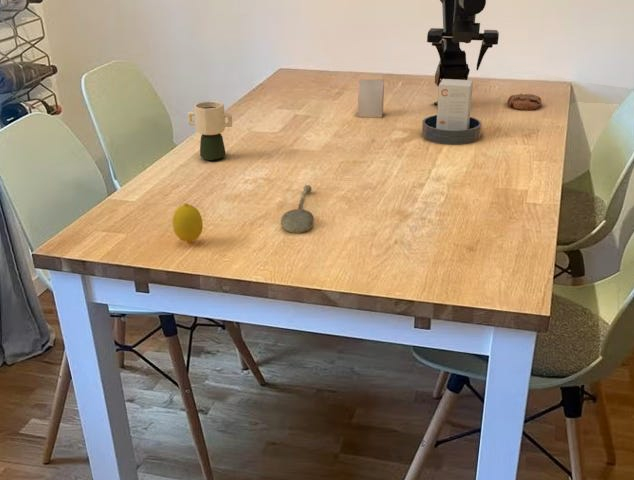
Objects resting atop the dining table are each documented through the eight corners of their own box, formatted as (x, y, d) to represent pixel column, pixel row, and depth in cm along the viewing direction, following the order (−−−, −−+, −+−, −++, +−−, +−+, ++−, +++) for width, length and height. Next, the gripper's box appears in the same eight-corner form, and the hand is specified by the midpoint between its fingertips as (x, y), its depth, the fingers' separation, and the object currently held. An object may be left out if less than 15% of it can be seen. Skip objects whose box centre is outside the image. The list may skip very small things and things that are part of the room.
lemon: (176, 237, 149) (171, 198, 145) (204, 236, 149) (201, 197, 145) (174, 249, 144) (169, 210, 140) (203, 248, 145) (199, 208, 140)
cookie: (546, 103, 228) (548, 93, 227) (534, 112, 221) (536, 101, 219) (514, 99, 233) (515, 89, 231) (501, 107, 225) (502, 97, 224)
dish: (410, 133, 205) (410, 120, 203) (453, 123, 212) (454, 111, 210) (448, 148, 194) (449, 134, 192) (492, 137, 201) (493, 124, 199)
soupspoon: (278, 235, 151) (311, 238, 150) (278, 220, 149) (311, 222, 149) (293, 190, 169) (323, 193, 169) (293, 176, 167) (323, 178, 167)
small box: (469, 130, 205) (473, 79, 198) (466, 137, 200) (471, 85, 193) (438, 127, 207) (442, 78, 200) (435, 134, 202) (438, 84, 195)
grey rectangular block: (381, 117, 218) (382, 81, 212) (357, 116, 219) (358, 80, 214) (383, 113, 221) (384, 78, 216) (359, 112, 222) (360, 77, 217)
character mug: (238, 154, 191) (235, 101, 184) (230, 164, 185) (227, 109, 178) (196, 152, 193) (191, 100, 186) (187, 161, 187) (182, 108, 180)
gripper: (427, 12, 198) (423, 74, 206) (501, 14, 195) (494, 77, 203) (430, 5, 207) (426, 65, 215) (501, 7, 204) (494, 68, 212)
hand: (460, 69), depth 211 cm, fingers open, 9 cm apart
